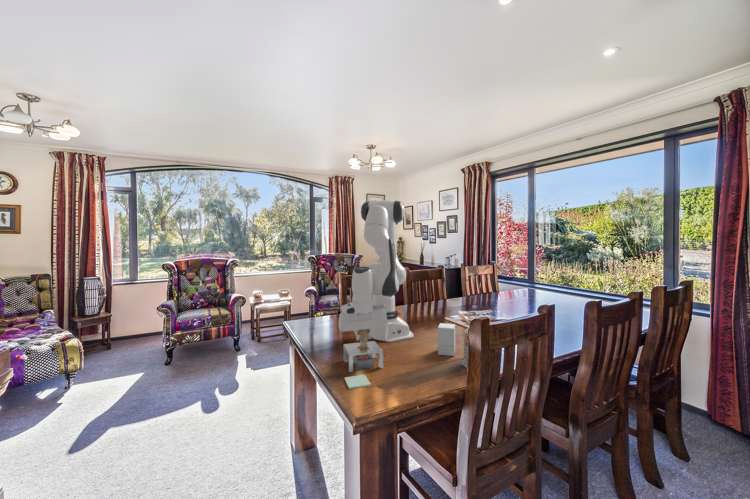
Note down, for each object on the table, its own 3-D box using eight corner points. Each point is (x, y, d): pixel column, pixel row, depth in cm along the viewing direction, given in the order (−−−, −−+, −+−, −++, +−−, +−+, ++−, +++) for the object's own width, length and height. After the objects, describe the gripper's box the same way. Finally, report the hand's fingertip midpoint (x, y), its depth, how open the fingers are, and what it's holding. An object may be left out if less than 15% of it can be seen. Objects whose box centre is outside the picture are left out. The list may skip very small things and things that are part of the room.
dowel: (366, 349, 134) (365, 326, 133) (368, 352, 131) (367, 328, 131) (359, 350, 133) (359, 327, 133) (361, 353, 130) (360, 329, 130)
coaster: (364, 376, 122) (364, 374, 122) (370, 385, 114) (370, 384, 114) (344, 378, 120) (344, 377, 120) (348, 388, 112) (348, 387, 112)
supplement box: (455, 350, 148) (455, 324, 147) (454, 356, 141) (454, 328, 140) (439, 348, 150) (439, 322, 150) (437, 354, 143) (437, 327, 143)
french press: (472, 371, 126) (472, 308, 125) (453, 360, 137) (454, 303, 135) (491, 366, 130) (492, 306, 129) (471, 356, 141) (472, 300, 139)
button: (367, 361, 135) (367, 354, 135) (369, 365, 131) (369, 358, 130) (356, 362, 133) (356, 355, 133) (359, 366, 129) (359, 359, 129)
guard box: (374, 356, 141) (374, 340, 140) (383, 367, 129) (383, 350, 129) (343, 360, 137) (343, 344, 136) (349, 372, 125) (349, 354, 125)
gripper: (384, 302, 137) (384, 333, 138) (337, 306, 131) (338, 339, 132) (389, 306, 131) (389, 338, 132) (340, 310, 125) (341, 344, 126)
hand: (363, 339), depth 132 cm, fingers closed on dowel, 3 cm apart
